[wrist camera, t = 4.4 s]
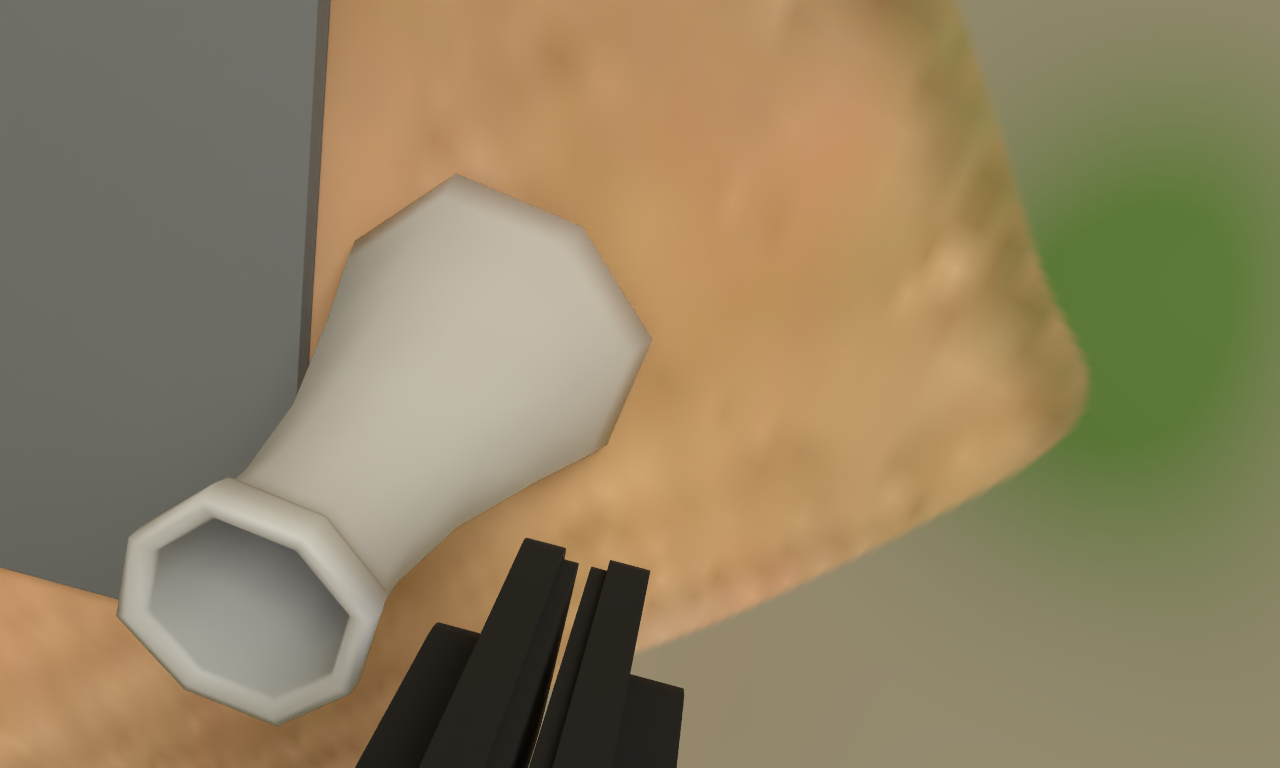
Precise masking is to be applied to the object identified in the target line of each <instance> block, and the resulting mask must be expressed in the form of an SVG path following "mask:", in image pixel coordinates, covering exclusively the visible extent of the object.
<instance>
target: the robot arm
mask: <svg viewBox="0 0 1280 768" xmlns="http://www.w3.org/2000/svg"><path fill="white" fill-rule="evenodd" d="M565 553H566V548H563V547H560V546H556V545H552V544H548V543H545V542H541V541H537V540H533V539H529V538H525V539H524V541H523V543H522V545H521V547H520V550H519V552H518V554H517V556H516V558H515V560H514V563H513V565H512V567H511V569H510V571H509V573H508V576H507V578H506V580H505V582H504V584H503V586H502V589H501V591H500V593H499V595H498V597H497V599H496V602H495V604H494V606H493V608H492V610H491V612H490V615H489V617H488V619H487V621H486V623H485V625H484V628H483V630H482V632H481V634H479V633H476V632H472V631H468V630H465V629H461V628H457V627H454V626H450V625H446V624H442V623H439V622H438V623H437V624H435V625H434V626H433V628H432V629H431V631H430V633H429V634H428V636H427V638H426V640H425V641H424V643H423V645H422V647H421V649H420V650H419V652H418V654H417V656H416V658H415V660H414V661H413V663H412V665H411V667H410V669H409V670H408V672H407V674H406V676H405V678H404V680H403V681H402V683H401V685H400V687H399V689H398V691H397V692H396V694H395V696H394V698H393V700H392V701H391V703H390V705H389V707H388V709H387V711H386V712H385V714H384V716H383V718H382V720H381V721H380V723H379V725H378V727H377V729H376V731H375V732H374V734H373V736H372V738H371V740H370V742H369V743H368V745H367V747H366V749H365V751H364V752H363V754H362V756H361V758H360V760H359V762H358V763H357V765H356V767H355V768H528V766H529V763H530V766H529V768H676V767H677V758H678V749H679V739H680V730H681V721H682V711H683V702H684V689H683V688H679V687H676V686H672V685H668V684H665V683H661V682H657V681H654V680H650V679H646V678H642V677H639V676H635V675H631V674H630V671H631V666H632V661H633V656H634V651H635V646H636V641H637V636H638V631H639V626H640V621H641V615H642V610H643V605H644V600H645V595H646V590H647V585H648V580H649V575H650V570H646V569H642V568H639V567H635V566H631V565H627V564H624V563H620V562H616V561H612V560H610V562H609V566H608V570H607V571H606V570H602V569H598V568H594V567H591V569H590V572H589V576H588V579H587V582H586V585H585V589H584V592H583V595H582V598H581V601H580V605H579V608H578V611H577V614H576V618H575V621H574V624H573V627H572V630H571V634H570V637H569V640H568V643H567V647H566V650H565V653H564V656H563V659H562V663H561V666H560V669H559V672H558V676H557V679H556V682H555V685H554V688H553V692H552V695H551V698H550V701H549V705H548V708H547V711H546V714H545V717H544V721H543V724H542V727H541V730H540V734H539V729H540V726H541V723H542V719H543V715H544V711H545V707H546V702H547V698H548V694H549V690H550V685H551V681H552V677H553V672H554V668H555V664H556V660H557V655H558V651H559V647H560V643H561V638H562V634H563V630H564V626H565V621H566V617H567V613H568V609H569V604H570V600H571V596H572V592H573V587H574V583H575V579H576V574H577V570H578V565H579V563H576V562H572V561H568V560H564V558H565ZM538 734H539V737H538ZM537 737H538V740H537ZM536 741H537V743H536ZM535 744H536V747H535ZM534 747H535V750H534ZM533 750H534V753H533ZM532 753H533V756H532ZM531 757H532V759H531ZM530 760H531V762H530Z"/></svg>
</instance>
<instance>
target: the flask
mask: <svg viewBox="0 0 1280 768" xmlns="http://www.w3.org/2000/svg"><path fill="white" fill-rule="evenodd" d="M651 341H652V338H651V336H650V335H649V333H648V331H647V330H646V328H645V327H644V325H643V323H642V322H641V320H640V319H639V317H638V315H637V314H636V312H635V311H634V309H633V307H632V306H631V304H630V303H629V301H628V299H627V298H626V296H625V295H624V293H623V291H622V290H621V288H620V287H619V285H618V283H617V282H616V280H615V279H614V277H613V275H612V274H611V272H610V270H609V269H608V267H607V266H606V264H605V262H604V261H603V259H602V258H601V256H600V254H599V253H598V251H597V250H596V248H595V246H594V245H593V243H592V242H591V240H590V238H589V237H588V235H587V234H586V232H585V230H584V229H583V227H582V226H579V225H577V224H575V223H572V222H570V221H568V220H565V219H563V218H560V217H558V216H556V215H553V214H551V213H549V212H546V211H544V210H541V209H539V208H537V207H534V206H532V205H530V204H527V203H525V202H523V201H520V200H518V199H515V198H513V197H511V196H508V195H506V194H504V193H501V192H499V191H497V190H494V189H492V188H489V187H487V186H485V185H482V184H480V183H478V182H475V181H473V180H470V179H468V178H466V177H463V176H461V175H459V174H455V175H453V176H452V177H450V178H449V179H447V180H446V181H444V182H443V183H441V184H440V185H438V186H437V187H435V188H434V189H432V190H431V191H429V192H428V193H426V194H425V195H423V196H422V197H420V198H419V199H417V200H416V201H414V202H413V203H411V204H410V205H408V206H407V207H405V208H404V209H402V210H401V211H399V212H398V213H396V214H395V215H393V216H392V217H390V218H389V219H387V220H386V221H384V222H383V223H381V224H380V225H378V226H377V227H375V228H374V229H372V230H371V231H369V232H368V233H366V234H365V235H363V236H362V237H360V238H359V239H357V240H356V241H355V242H354V245H353V247H352V250H351V252H350V255H349V257H348V260H347V263H346V266H345V269H344V272H343V275H342V278H341V281H340V284H339V287H338V290H337V293H336V296H335V299H334V302H333V305H332V308H331V311H330V314H329V317H328V320H327V323H326V325H325V328H324V330H323V333H322V335H321V337H320V340H319V342H318V345H317V347H316V350H315V352H314V355H313V357H312V360H311V362H310V364H309V367H308V369H307V372H306V374H305V377H304V379H303V382H302V384H301V387H300V389H299V391H298V394H297V396H296V399H295V401H294V404H293V405H292V407H291V408H290V409H289V411H288V412H287V413H286V415H285V416H284V418H283V419H282V420H281V422H280V423H279V425H278V426H277V427H276V429H275V430H274V431H273V433H272V434H271V436H270V437H269V438H268V440H267V441H266V442H265V444H264V445H263V447H262V448H261V449H260V451H259V452H258V453H257V455H256V456H255V458H254V459H253V460H252V462H251V463H250V464H249V466H248V467H247V469H246V470H245V471H243V472H242V473H241V474H240V475H239V476H238V477H237V478H235V479H234V478H225V479H223V480H221V481H218V482H216V483H213V484H212V485H210V486H208V487H207V488H205V489H203V490H202V491H200V492H198V493H197V494H195V495H193V496H191V497H190V498H188V499H186V500H185V501H183V502H181V503H180V504H178V505H176V506H174V507H173V508H171V509H169V510H168V511H166V512H164V513H163V514H161V515H159V516H157V517H156V518H154V519H152V520H151V521H149V522H147V523H146V524H144V525H142V526H140V527H139V528H138V529H137V530H136V531H135V532H134V533H133V534H132V535H131V536H129V537H128V544H127V550H126V557H125V563H124V570H123V576H122V583H121V589H120V596H119V603H118V609H117V617H118V618H119V619H120V620H121V621H122V623H123V624H124V625H125V626H126V627H127V628H128V629H129V630H130V631H131V632H132V633H133V634H134V635H135V637H136V638H137V639H138V640H139V641H140V642H141V643H142V644H143V645H144V646H145V647H146V648H147V649H148V651H149V652H150V653H151V654H152V655H153V656H154V657H155V658H156V659H157V660H158V661H159V662H160V663H161V665H162V666H163V667H164V668H165V669H166V670H167V671H168V672H169V673H170V674H171V675H172V676H173V678H174V679H175V680H176V681H177V682H178V683H179V684H180V685H181V686H182V687H183V688H184V689H185V690H187V691H190V692H192V693H195V694H197V695H200V696H202V697H205V698H207V699H210V700H212V701H215V702H218V703H220V704H223V705H225V706H228V707H230V708H233V709H235V710H238V711H240V712H243V713H245V714H248V715H250V716H253V717H255V718H258V719H260V720H263V721H265V722H268V723H270V724H273V725H275V726H279V725H281V724H284V723H286V722H288V721H290V720H292V719H295V718H297V717H299V716H301V715H304V714H306V713H308V712H310V711H313V710H315V709H317V708H319V707H322V706H324V705H326V704H328V703H331V702H333V701H335V700H337V699H340V698H342V697H344V696H346V695H349V694H350V693H351V692H352V691H353V689H354V688H355V686H356V685H357V684H358V682H359V680H360V677H361V674H362V671H363V668H364V665H365V662H366V659H367V656H368V653H369V650H370V647H371V644H372V640H373V637H374V634H375V631H376V628H377V625H378V622H379V619H380V616H381V613H382V610H383V607H384V603H385V600H386V599H387V597H388V596H389V594H390V593H391V591H392V590H393V588H394V587H395V586H396V584H397V583H398V581H399V580H401V579H402V578H403V577H404V576H405V575H406V574H407V573H408V572H409V571H410V570H411V569H412V568H414V567H415V566H416V565H417V564H418V563H419V562H420V561H421V560H422V559H423V558H424V557H425V556H426V555H428V554H429V553H430V552H431V551H432V550H433V549H434V548H435V547H436V546H437V545H438V544H439V543H441V542H442V541H443V540H444V539H445V538H446V537H447V536H448V535H449V534H450V533H451V532H452V531H454V530H455V529H456V528H457V527H459V526H461V525H462V524H464V523H466V522H467V521H469V520H471V519H473V518H474V517H476V516H478V515H479V514H481V513H483V512H485V511H486V510H488V509H490V508H491V507H493V506H495V505H497V504H498V503H500V502H502V501H503V500H505V499H507V498H509V497H510V496H512V495H514V494H515V493H517V492H519V491H521V490H522V489H524V488H526V487H527V486H529V485H531V484H533V483H534V482H536V481H538V480H540V479H542V478H544V477H546V476H548V475H550V474H552V473H554V472H556V471H558V470H560V469H562V468H564V467H566V466H568V465H570V464H572V463H574V462H576V461H578V460H580V459H582V458H584V457H586V456H588V455H590V454H592V453H593V452H595V451H597V450H599V449H600V448H602V447H604V446H605V445H607V443H608V441H609V439H610V436H611V434H612V432H613V429H614V427H615V425H616V422H617V420H618V418H619V415H620V413H621V411H622V408H623V406H624V404H625V401H626V399H627V397H628V394H629V392H630V390H631V387H632V385H633V383H634V380H635V378H636V376H637V373H638V371H639V369H640V366H641V364H642V362H643V359H644V357H645V355H646V352H647V350H648V348H649V345H650V343H651Z"/></svg>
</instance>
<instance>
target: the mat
mask: <svg viewBox="0 0 1280 768" xmlns="http://www.w3.org/2000/svg"><path fill="white" fill-rule="evenodd" d="M329 12H330V0H0V567H1V568H4V569H8V570H12V571H16V572H19V573H23V574H27V575H30V576H34V577H38V578H42V579H45V580H49V581H53V582H56V583H60V584H64V585H67V586H71V587H75V588H79V589H82V590H86V591H90V592H93V593H97V594H101V595H104V596H108V597H112V598H116V599H119V596H120V589H121V583H122V576H123V570H124V563H125V557H126V550H127V544H128V537H129V536H131V535H132V534H133V533H134V532H135V531H136V530H137V529H138V528H139V527H140V526H142V525H144V524H146V523H147V522H149V521H151V520H152V519H154V518H156V517H157V516H159V515H161V514H163V513H164V512H166V511H168V510H169V509H171V508H173V507H174V506H176V505H178V504H180V503H181V502H183V501H185V500H186V499H188V498H190V497H191V496H193V495H195V494H197V493H198V492H200V491H202V490H203V489H205V488H207V487H208V486H210V485H212V484H213V483H216V482H218V481H221V480H223V479H225V478H234V479H235V478H237V477H238V476H239V475H240V474H241V473H242V472H243V471H245V470H246V469H247V467H248V466H249V464H250V463H251V462H252V460H253V459H254V458H255V456H256V455H257V453H258V452H259V451H260V449H261V448H262V447H263V445H264V444H265V442H266V441H267V440H268V438H269V437H270V436H271V434H272V433H273V431H274V430H275V429H276V427H277V426H278V425H279V423H280V422H281V420H282V419H283V418H284V416H285V415H286V413H287V412H288V411H289V409H290V408H291V407H292V405H293V404H294V401H295V399H296V396H297V394H298V391H299V389H300V387H301V384H302V382H303V379H304V377H305V374H306V372H307V369H308V364H309V347H310V330H311V314H312V297H313V280H314V263H315V247H316V230H317V213H318V196H319V180H320V163H321V146H322V129H323V112H324V96H325V79H326V62H327V45H328V29H329Z"/></svg>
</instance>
